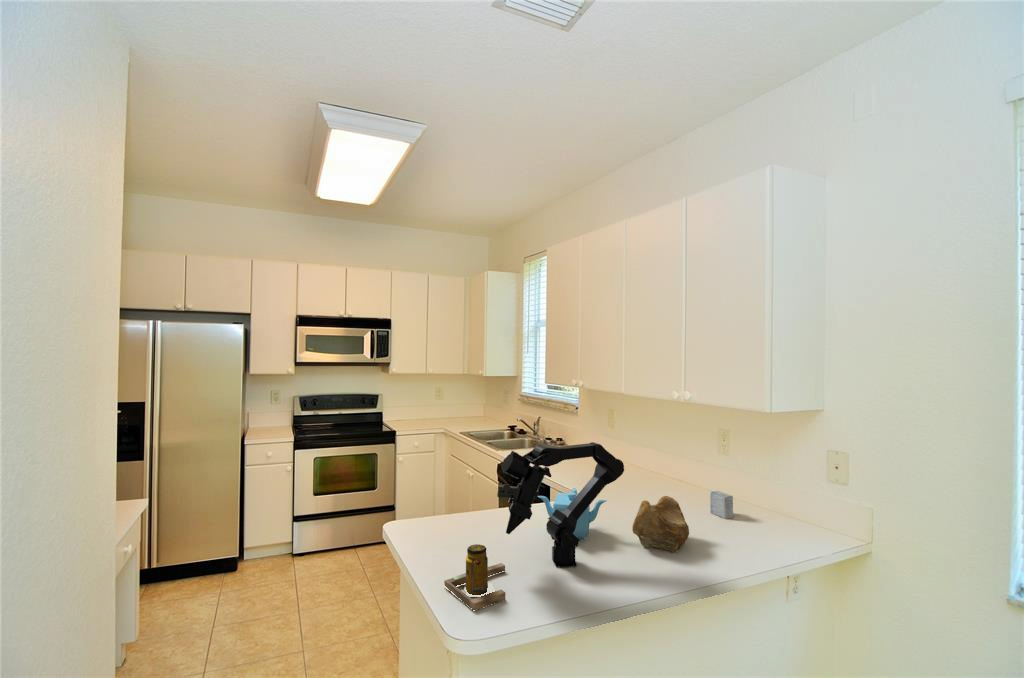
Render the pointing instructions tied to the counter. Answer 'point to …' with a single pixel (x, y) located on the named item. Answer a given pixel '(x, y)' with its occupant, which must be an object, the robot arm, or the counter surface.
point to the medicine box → (721, 504)
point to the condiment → (476, 570)
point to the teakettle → (583, 521)
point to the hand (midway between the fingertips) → (507, 533)
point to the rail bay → (479, 601)
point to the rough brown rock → (661, 525)
